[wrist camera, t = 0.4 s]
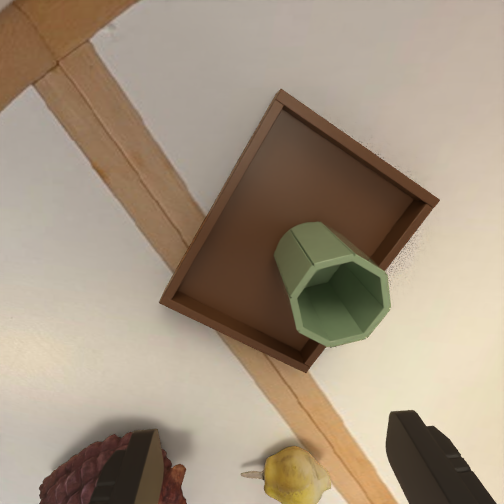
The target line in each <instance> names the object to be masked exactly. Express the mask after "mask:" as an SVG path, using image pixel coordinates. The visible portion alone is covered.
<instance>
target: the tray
mask: <svg viewBox="0 0 504 504" xmlns="http://www.w3.org/2000/svg"><path fill="white" fill-rule="evenodd" d="M439 201H440V199H438V198H437V197H435V196H434V195H432V194H431V193H430V192H428V191H427V190H425V189H424V188H422V187H421V186H420V185H418V184H417V183H415V182H414V181H412V180H411V179H410V178H408V177H407V176H405V175H404V174H402V173H401V172H400V171H398V170H397V169H395V168H394V167H392V166H391V165H390V164H388V163H387V162H385V161H384V160H382V159H381V158H380V157H378V156H377V155H375V154H374V153H372V152H371V151H370V150H368V149H367V148H365V147H364V146H362V145H361V144H359V143H358V142H357V141H355V140H354V139H352V138H351V137H349V136H348V135H347V134H345V133H344V132H342V131H341V130H339V129H338V128H337V127H335V126H334V125H332V124H331V123H329V122H328V121H327V120H325V119H324V118H322V117H321V116H319V115H318V114H317V113H315V112H314V111H312V110H311V109H309V108H308V107H307V106H305V105H304V104H302V103H301V102H299V101H298V100H297V99H295V98H294V97H292V96H291V95H289V94H288V93H287V92H285V91H284V90H282V89H280V90H279V91H278V92H277V94H276V95H275V97H274V98H273V100H272V102H271V104H270V105H269V107H268V109H267V111H266V113H265V114H264V116H263V118H262V120H261V121H260V123H259V125H258V127H257V128H256V130H255V132H254V134H253V135H252V137H251V139H250V141H249V142H248V144H247V146H246V148H245V149H244V151H243V153H242V155H241V156H240V158H239V160H238V162H237V164H236V165H235V167H234V169H233V171H232V172H231V174H230V176H229V178H228V179H227V181H226V183H225V185H224V186H223V188H222V190H221V192H220V193H219V195H218V197H217V199H216V200H215V202H214V204H213V206H212V207H211V209H210V211H209V213H208V215H207V216H206V218H205V220H204V222H203V223H202V225H201V227H200V229H199V230H198V232H197V234H196V236H195V237H194V239H193V241H192V243H191V244H190V246H189V248H188V250H187V251H186V253H185V255H184V257H183V258H182V260H181V262H180V264H179V266H178V267H177V269H176V271H175V273H174V274H173V276H172V278H171V280H170V281H169V283H168V285H167V287H166V288H165V290H164V292H163V295H162V297H161V299H160V301H159V303H160V304H162V305H164V306H166V307H168V308H171V309H173V310H175V311H177V312H179V313H181V314H183V315H185V316H187V317H189V318H192V319H194V320H196V321H198V322H200V323H202V324H204V325H206V326H208V327H210V328H213V329H215V330H217V331H219V332H221V333H223V334H225V335H227V336H229V337H231V338H233V339H236V340H238V341H240V342H242V343H244V344H246V345H248V346H250V347H252V348H254V349H257V350H259V351H261V352H263V353H265V354H267V355H269V356H271V357H273V358H275V359H278V360H280V361H282V362H284V363H286V364H288V365H290V366H292V367H294V368H296V369H298V370H301V371H303V372H305V373H307V371H308V370H309V369H310V367H311V366H312V364H313V363H314V362H315V361H316V359H317V358H318V357H319V355H320V354H321V353H322V352H323V350H324V349H325V348H326V346H324V345H322V344H320V343H318V342H316V341H314V340H313V339H311V338H309V337H307V336H305V335H303V334H301V333H299V332H298V331H297V330H296V327H295V324H294V321H293V318H292V315H291V312H290V309H289V306H288V303H287V300H286V298H285V295H284V292H283V289H282V286H281V283H280V280H279V276H278V272H277V268H276V265H275V259H274V252H275V250H276V247H277V245H278V243H279V241H280V239H281V238H282V237H283V235H284V234H285V233H286V232H287V231H288V230H290V229H291V228H293V227H295V226H297V225H299V224H302V223H307V222H322V223H324V224H325V225H327V226H329V227H331V228H332V229H334V230H335V231H337V232H338V233H340V234H342V235H343V236H344V237H345V238H347V239H348V240H349V241H350V242H351V243H352V244H354V245H355V246H356V247H357V248H358V249H359V250H361V251H362V252H363V253H364V254H365V255H366V256H368V257H369V258H370V259H371V260H372V261H373V262H375V263H376V264H377V265H378V266H379V267H380V268H382V269H383V270H384V271H385V270H386V269H387V268H388V266H389V265H390V264H391V262H392V261H393V260H394V259H395V257H396V256H397V255H398V253H399V252H400V251H401V249H402V248H403V247H404V246H405V244H406V243H407V242H408V240H409V239H410V238H411V237H412V235H413V234H414V233H415V231H416V230H417V229H418V228H419V226H420V225H421V224H422V222H423V221H424V220H425V218H426V217H427V216H428V215H429V213H430V212H431V211H432V209H433V208H434V207H435V206H436V205H437V203H438V202H439Z"/></svg>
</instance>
